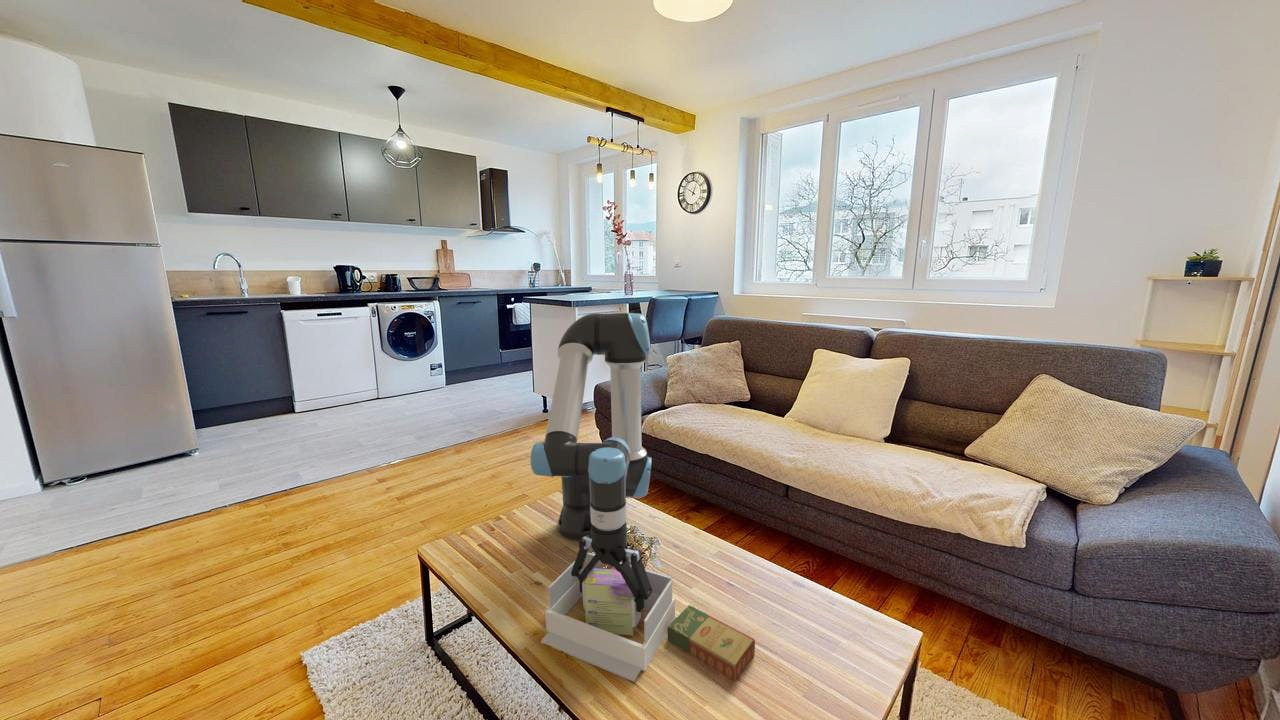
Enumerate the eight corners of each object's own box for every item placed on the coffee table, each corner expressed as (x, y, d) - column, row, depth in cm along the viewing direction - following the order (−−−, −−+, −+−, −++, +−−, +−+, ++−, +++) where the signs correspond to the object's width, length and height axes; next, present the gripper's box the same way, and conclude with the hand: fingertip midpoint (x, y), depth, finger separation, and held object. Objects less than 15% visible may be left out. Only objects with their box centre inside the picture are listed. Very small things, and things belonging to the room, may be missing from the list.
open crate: (537, 641, 97) (534, 599, 95) (585, 587, 114) (584, 550, 112) (638, 683, 87) (637, 637, 85) (675, 617, 103) (675, 577, 101)
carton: (734, 684, 87) (735, 665, 86) (666, 642, 97) (666, 624, 96) (755, 656, 93) (755, 637, 92) (688, 619, 103) (688, 602, 102)
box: (636, 616, 104) (635, 569, 102) (633, 636, 98) (632, 586, 96) (591, 613, 105) (589, 567, 103) (585, 633, 99) (583, 584, 97)
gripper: (551, 518, 99) (556, 608, 103) (652, 545, 89) (654, 644, 93) (571, 502, 106) (575, 587, 110) (668, 526, 95) (668, 619, 99)
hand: (611, 613), depth 101 cm, fingers closed on box, 11 cm apart
